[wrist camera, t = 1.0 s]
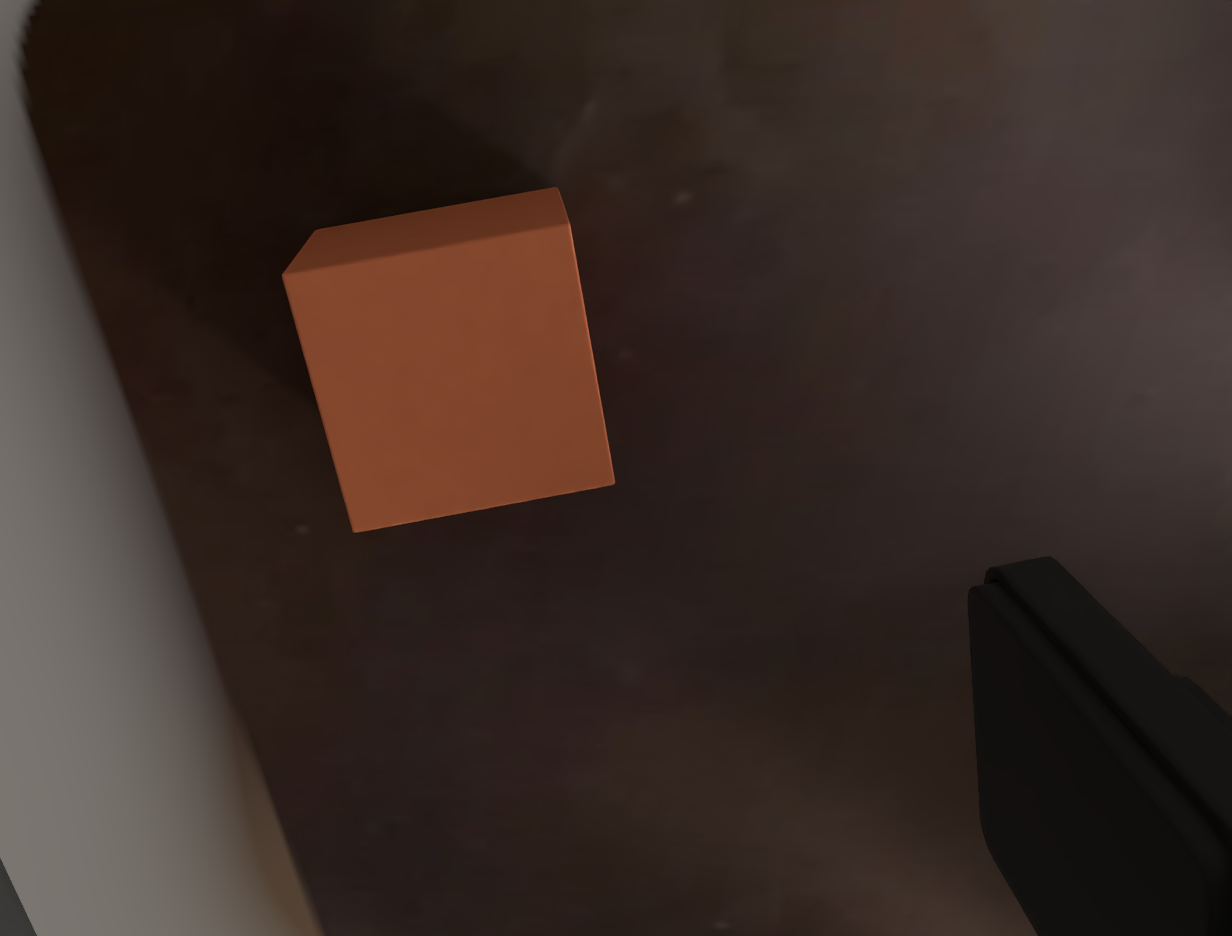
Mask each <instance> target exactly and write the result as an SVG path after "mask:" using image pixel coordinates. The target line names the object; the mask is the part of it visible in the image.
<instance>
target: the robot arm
mask: <svg viewBox="0 0 1232 936" xmlns="http://www.w3.org/2000/svg"><path fill="white" fill-rule="evenodd" d="M968 618H969V635H970V652H971V670H972V687H973V704H974V722H975V739H976V756H977V774H978V791H979V809H980V820H981V826H982V830H983V834H984V838H985V841H986V844H987V846H988V849H989V851H990V854H991V855H992V857H993V859H994V861H995V863H996V865H997V866H998V868H999V870H1000V871H1001V873H1002V875H1003V877H1004V878H1005V880H1006V882H1007V883H1008V885H1009V887H1010V888H1011V890H1012V892H1013V894H1014V895H1015V897H1016V899H1017V900H1018V902H1019V904H1020V906H1021V907H1022V909H1023V911H1024V912H1025V914H1026V916H1027V918H1028V919H1029V921H1030V923H1031V924H1032V926H1033V928H1034V929H1035V931H1036V933H1037V935H1038V936H1232V718H1231V717H1230V716H1229V715H1228V714H1227V713H1226V712H1225V711H1224V710H1223V709H1222V708H1221V707H1220V706H1219V705H1218V704H1217V703H1216V702H1215V701H1214V700H1213V699H1212V698H1211V697H1210V696H1209V695H1208V694H1207V693H1205V692H1204V691H1203V690H1202V689H1201V688H1200V687H1199V686H1198V685H1197V684H1195V683H1194V682H1192V681H1191V680H1190V679H1188V678H1187V677H1183V676H1177V675H1172V674H1171V673H1170V672H1169V671H1168V670H1167V669H1166V668H1165V667H1164V666H1163V665H1162V664H1161V663H1160V662H1159V661H1158V660H1157V659H1156V658H1155V657H1154V656H1153V655H1152V654H1151V653H1150V652H1149V651H1148V650H1147V649H1146V648H1145V647H1144V646H1143V645H1142V644H1141V643H1140V642H1139V641H1138V640H1137V639H1136V638H1135V637H1134V636H1133V635H1132V634H1131V633H1130V632H1129V631H1128V630H1127V629H1126V628H1125V627H1124V626H1123V625H1122V624H1121V623H1120V622H1119V621H1118V620H1117V619H1116V618H1115V617H1114V616H1112V615H1111V614H1110V613H1109V612H1108V611H1107V610H1106V609H1105V608H1104V607H1103V606H1102V605H1101V604H1100V603H1099V602H1098V601H1097V600H1096V599H1095V598H1094V597H1093V596H1092V595H1091V594H1090V593H1089V592H1088V591H1087V590H1086V589H1085V588H1084V587H1083V586H1082V585H1081V584H1080V583H1079V582H1078V581H1077V580H1076V579H1075V578H1074V577H1073V576H1072V575H1071V574H1070V573H1069V572H1068V571H1067V570H1066V569H1065V568H1064V567H1063V566H1062V565H1061V564H1060V563H1059V562H1058V561H1056V560H1055V559H1054V558H1052V557H1051V556H1048V557H1040V558H1035V559H1030V560H1025V561H1020V562H1015V563H1010V564H1005V565H1000V566H995V567H990V568H989V569H988V570H987V571H986V574H985V579H984V585H979V586H973V587H971V588H970V590H969V593H968ZM0 936H37V935H36V933H35V931H34V929H33V927H32V925H31V922H30V920H29V918H28V916H27V914H26V912H25V910H24V908H23V905H22V903H21V901H20V899H19V897H18V895H17V893H16V891H15V889H14V887H13V885H12V882H11V880H10V878H9V876H8V874H7V872H6V869H5V867H4V865H3V863H2V861H1V859H0Z"/></svg>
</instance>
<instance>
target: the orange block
mask: <svg viewBox="0 0 1232 936" xmlns="http://www.w3.org/2000/svg"><path fill="white" fill-rule="evenodd" d="M282 278H283V282H284V286H285V289H286V293H287V296H288V300H289V304H290V307H291V311H292V314H293V318H294V322H295V325H296V329H297V332H298V336H299V340H300V343H301V347H302V350H303V354H304V358H305V361H306V365H307V368H308V372H309V376H310V379H311V383H312V386H313V390H314V393H315V397H316V401H317V404H318V408H319V411H320V415H321V419H322V422H323V426H324V429H325V433H326V437H327V440H328V444H329V447H330V451H331V455H332V458H333V462H334V465H335V469H336V473H337V476H338V480H339V483H340V487H341V491H342V494H343V498H344V501H345V505H346V508H347V512H348V516H349V519H350V523H351V526H352V530H353V532H354V533H357V532H362V531H368V530H373V529H379V528H384V527H389V526H395V525H400V524H405V523H411V522H416V521H422V520H427V519H432V518H438V517H443V516H448V515H454V514H459V513H464V512H470V511H475V510H481V509H486V508H491V507H497V506H502V505H507V504H513V503H518V502H524V501H529V500H534V499H540V498H545V497H550V496H556V495H561V494H567V493H572V492H577V491H583V490H588V489H593V488H599V487H604V486H610V485H614V484H615V478H614V473H613V467H612V461H611V456H610V450H609V444H608V438H607V433H606V427H605V421H604V415H603V410H602V404H601V398H600V392H599V387H598V381H597V375H596V370H595V364H594V358H593V352H592V347H591V341H590V335H589V329H588V324H587V318H586V312H585V306H584V301H583V295H582V289H581V284H580V278H579V272H578V266H577V261H576V255H575V249H574V243H573V238H572V232H571V226H570V223H569V220H568V216H567V213H566V210H565V207H564V204H563V201H562V198H561V195H560V192H559V189H558V187H552V188H547V189H541V190H535V191H530V192H524V193H519V194H513V195H507V196H502V197H496V198H491V199H485V200H479V201H474V202H468V203H463V204H457V205H451V206H446V207H440V208H435V209H429V210H423V211H418V212H412V213H407V214H401V215H395V216H390V217H384V218H379V219H373V220H367V221H362V222H356V223H351V224H345V225H339V226H334V227H328V228H323V229H317V230H315V231H314V232H313V234H312V235H311V236H310V238H309V239H308V241H307V242H306V243H305V245H304V246H303V247H302V249H301V250H300V251H299V253H298V254H297V255H296V257H295V258H294V259H293V261H292V262H291V263H290V265H289V266H288V267H287V269H286V270H285V272H284V273H283V274H282Z"/></svg>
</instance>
